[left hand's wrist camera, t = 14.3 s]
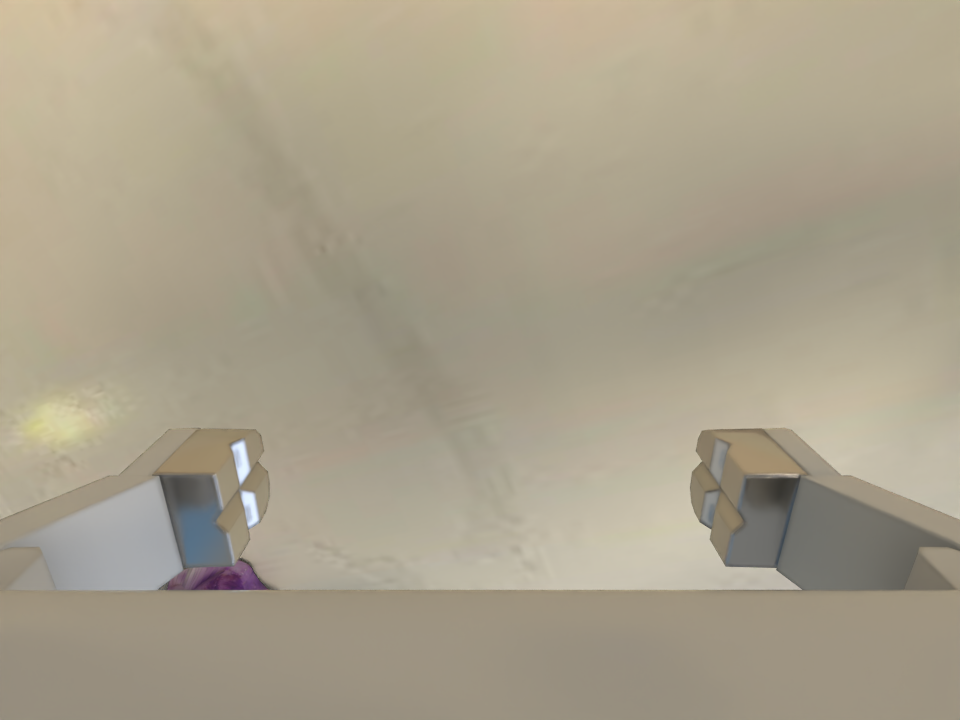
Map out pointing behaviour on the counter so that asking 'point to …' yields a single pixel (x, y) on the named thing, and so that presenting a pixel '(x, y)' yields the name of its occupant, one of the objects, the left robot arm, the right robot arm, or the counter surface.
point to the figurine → (217, 578)
